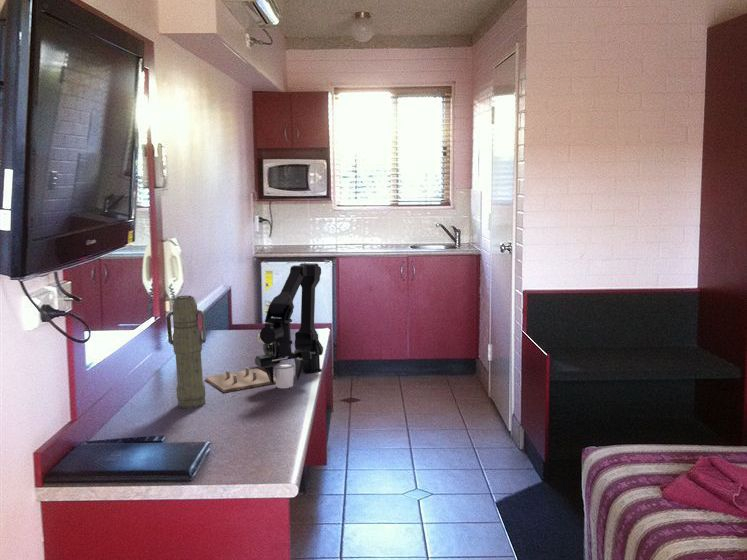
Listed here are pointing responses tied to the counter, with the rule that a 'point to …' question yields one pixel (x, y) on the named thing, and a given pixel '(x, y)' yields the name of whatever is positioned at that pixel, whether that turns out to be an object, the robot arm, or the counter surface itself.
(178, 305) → the thermos
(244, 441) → the counter surface
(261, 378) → the pin plate
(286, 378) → the shot glass
